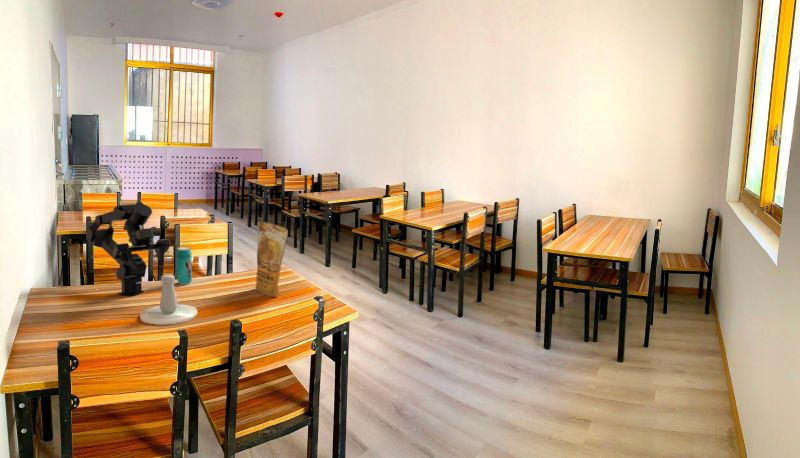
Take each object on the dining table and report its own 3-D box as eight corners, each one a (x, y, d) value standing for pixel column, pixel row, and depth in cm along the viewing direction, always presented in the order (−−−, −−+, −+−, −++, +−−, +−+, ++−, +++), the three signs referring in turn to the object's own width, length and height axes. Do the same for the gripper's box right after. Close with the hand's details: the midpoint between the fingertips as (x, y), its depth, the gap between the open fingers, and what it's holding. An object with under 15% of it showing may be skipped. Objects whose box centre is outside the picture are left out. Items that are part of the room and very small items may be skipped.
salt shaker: (179, 309, 184) (179, 273, 182) (175, 314, 179) (174, 277, 177) (162, 309, 183) (161, 273, 181) (157, 314, 178) (156, 277, 176)
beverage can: (186, 285, 216) (185, 250, 214) (174, 284, 217) (173, 248, 215) (194, 282, 222) (194, 247, 219) (182, 281, 223) (181, 246, 220)
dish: (127, 319, 175) (127, 316, 175) (166, 304, 192) (166, 301, 192) (172, 328, 170) (172, 324, 170) (208, 311, 187) (208, 308, 187)
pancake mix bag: (264, 285, 222) (264, 220, 218) (288, 296, 209) (289, 227, 204) (249, 288, 218) (249, 221, 213) (273, 299, 204) (274, 228, 200)
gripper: (114, 221, 184) (128, 258, 179) (167, 217, 198) (182, 251, 192) (107, 240, 191) (120, 276, 185) (159, 235, 204) (172, 268, 199)
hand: (149, 267), depth 190 cm, fingers open, 9 cm apart
